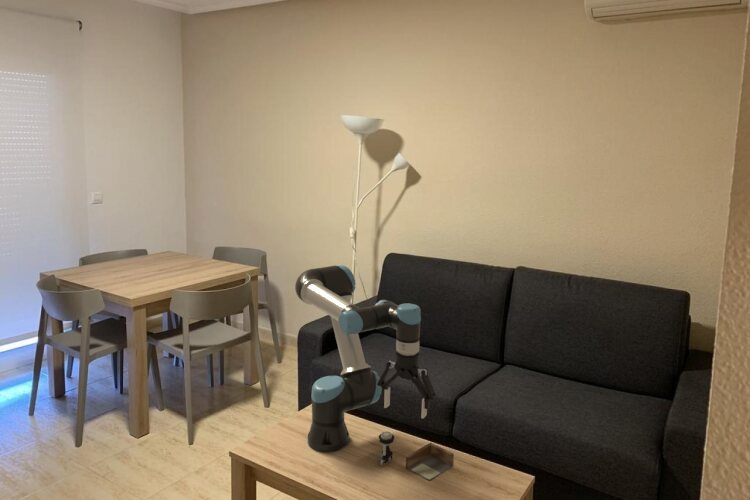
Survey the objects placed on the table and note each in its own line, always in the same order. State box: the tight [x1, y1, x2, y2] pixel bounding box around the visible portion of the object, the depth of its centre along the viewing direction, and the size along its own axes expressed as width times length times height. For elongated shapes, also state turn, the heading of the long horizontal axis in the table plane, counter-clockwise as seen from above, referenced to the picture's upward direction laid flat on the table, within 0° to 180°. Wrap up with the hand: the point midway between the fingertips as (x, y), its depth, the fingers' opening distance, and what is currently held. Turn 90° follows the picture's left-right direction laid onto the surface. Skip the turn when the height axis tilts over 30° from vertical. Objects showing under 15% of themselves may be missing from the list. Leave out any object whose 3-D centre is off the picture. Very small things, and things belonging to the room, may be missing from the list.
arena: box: [405, 442, 455, 482], centre depth 201 cm, size 10×13×4 cm
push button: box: [378, 430, 395, 466], centre depth 203 cm, size 7×5×10 cm
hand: (405, 411), depth 197 cm, fingers open, 13 cm apart
